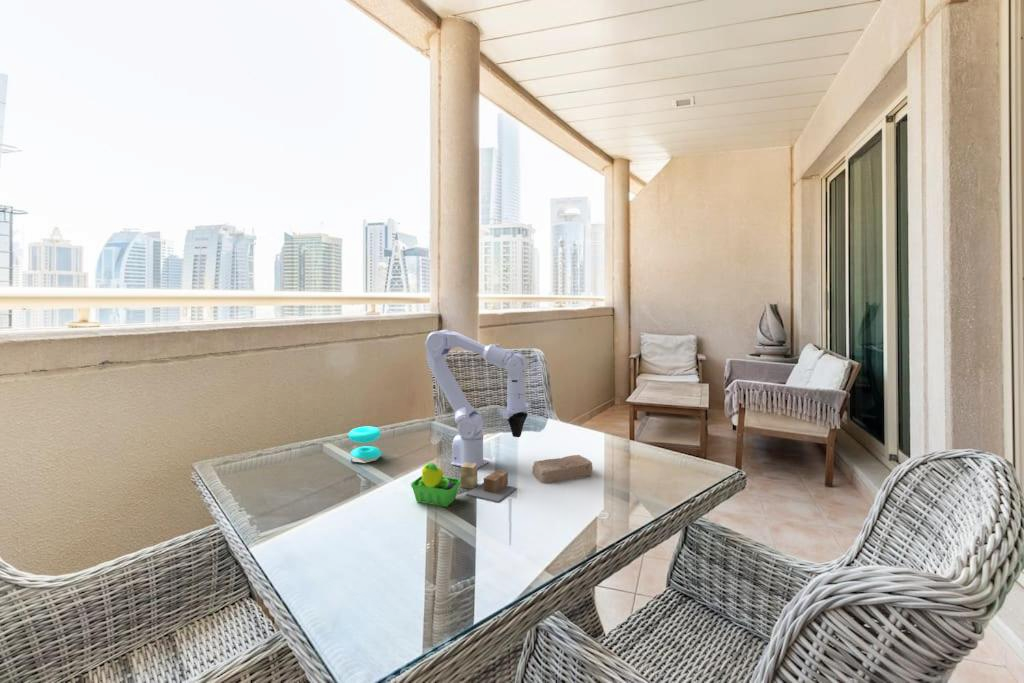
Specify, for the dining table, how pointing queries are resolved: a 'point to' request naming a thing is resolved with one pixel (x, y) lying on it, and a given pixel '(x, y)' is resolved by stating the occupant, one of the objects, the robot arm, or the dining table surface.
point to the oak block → (468, 475)
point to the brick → (562, 469)
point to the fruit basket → (435, 486)
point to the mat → (494, 497)
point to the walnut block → (495, 481)
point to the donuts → (365, 436)
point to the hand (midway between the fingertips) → (516, 436)
